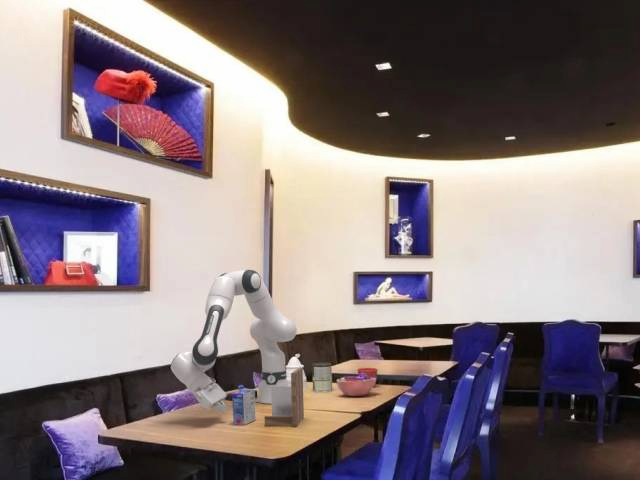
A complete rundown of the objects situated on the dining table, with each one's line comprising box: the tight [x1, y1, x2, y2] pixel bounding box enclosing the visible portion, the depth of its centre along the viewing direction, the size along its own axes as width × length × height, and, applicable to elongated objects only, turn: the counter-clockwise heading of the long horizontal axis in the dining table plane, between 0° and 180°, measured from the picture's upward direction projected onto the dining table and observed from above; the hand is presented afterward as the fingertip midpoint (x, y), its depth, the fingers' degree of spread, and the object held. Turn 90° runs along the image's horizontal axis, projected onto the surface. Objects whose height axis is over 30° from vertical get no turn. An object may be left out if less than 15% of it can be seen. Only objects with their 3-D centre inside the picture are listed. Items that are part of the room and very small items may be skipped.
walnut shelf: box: [264, 367, 305, 428], centre depth 240 cm, size 18×12×20 cm
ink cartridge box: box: [231, 384, 257, 426], centre depth 242 cm, size 10×6×14 cm, turn 159°
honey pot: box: [285, 353, 308, 389], centre depth 332 cm, size 13×13×18 cm
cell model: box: [336, 372, 377, 397], centre depth 299 cm, size 17×20×11 cm
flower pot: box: [357, 367, 378, 389], centre depth 326 cm, size 11×11×10 cm
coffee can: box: [311, 362, 333, 393], centre depth 317 cm, size 10×10×14 cm
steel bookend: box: [271, 386, 292, 416], centre depth 248 cm, size 4×11×13 cm, turn 82°
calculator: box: [223, 387, 258, 402], centre depth 302 cm, size 11×4×15 cm
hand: (225, 411), depth 243 cm, fingers closed
